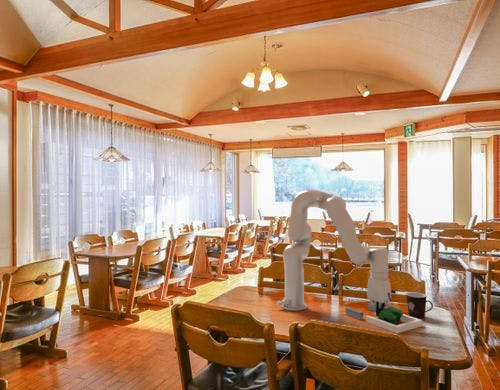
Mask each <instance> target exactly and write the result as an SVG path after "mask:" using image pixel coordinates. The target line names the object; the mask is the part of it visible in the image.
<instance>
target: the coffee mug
mask: <svg viewBox="0 0 500 390" xmlns="http://www.w3.org/2000/svg"><path fill="white" fill-rule="evenodd" d="M405 297H406V305H407V310H408V311H407V312H408V316H411V317H414V318H417V319H420V320H423V319H425V314H426V313H428V312H429V311H431V310H432V309H433V308H434V303H433V302H431V300H428V299H427V297H428V296H427V295H426V293H421V292H415V291H414V292H413V291H412V292H406V293H405ZM427 302H428V303H429V304H430V306H431V307H430V308H429V309H426V305H427V304H426V303H427Z"/></svg>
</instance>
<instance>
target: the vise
mask: <svg viewBox="0 0 500 390" xmlns="http://www.w3.org/2000/svg"><path fill="white" fill-rule="evenodd" d="M390 306H391V305H389V306H385V307H384V309H386V308H388V307H390ZM367 309H368V310H369V311H372V312H375V313H376V307H375V306H374V303H373V302H367ZM345 315H346V316H349V317H351V318H354V319H357V320H358V321H362V320H364V312H363V311H360V310H357V309H355V308H352V307H345Z"/></svg>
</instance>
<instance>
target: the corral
mask: <svg viewBox="0 0 500 390" xmlns="http://www.w3.org/2000/svg"><path fill="white" fill-rule="evenodd" d="M365 316H366V317H365V321H366V323H369V324H371V325H373V326H376V327H379V328H382V329H385V330H387V331H389V332H392V333H395V334H399V333H404V332H407V331H411V330H414V329H417V328H420V327H423V319H417V318H414V317H411V316H409V315H406V314H404V313H403V316H401V318H400V322H401V321H403V323H399V324H397V325H396V324H395V325H394V324H391V323H388V322H385V321H383V320H380V319H378V318H377V317H374V316H370V315H365Z"/></svg>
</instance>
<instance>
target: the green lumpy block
mask: <svg viewBox="0 0 500 390" xmlns="http://www.w3.org/2000/svg"><path fill="white" fill-rule="evenodd" d="M389 306H390V307H386V309H384V310H382V311H380V313H379V317H378V318H377V319H380V320H383V321H385V322H388V323H391V324H394V325H396V323H397V324H400V322H401V320H400V318H401V316H403V314H404V311H403V310H401V309H399V308H397V307H394V306H393V305H389Z"/></svg>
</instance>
